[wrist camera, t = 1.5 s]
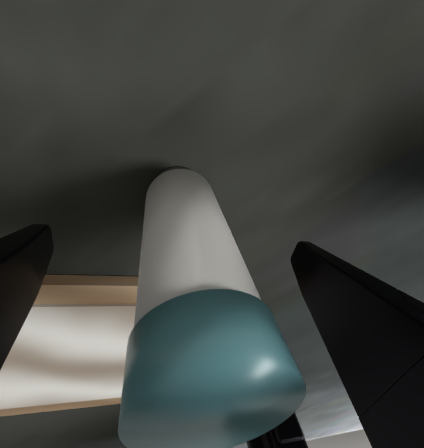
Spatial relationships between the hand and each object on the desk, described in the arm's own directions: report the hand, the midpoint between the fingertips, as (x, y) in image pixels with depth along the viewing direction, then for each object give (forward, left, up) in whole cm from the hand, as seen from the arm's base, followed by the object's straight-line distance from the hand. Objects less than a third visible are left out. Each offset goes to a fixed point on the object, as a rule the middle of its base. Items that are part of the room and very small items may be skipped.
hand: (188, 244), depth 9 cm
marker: (0, 0, -5) cm, 5 cm away
